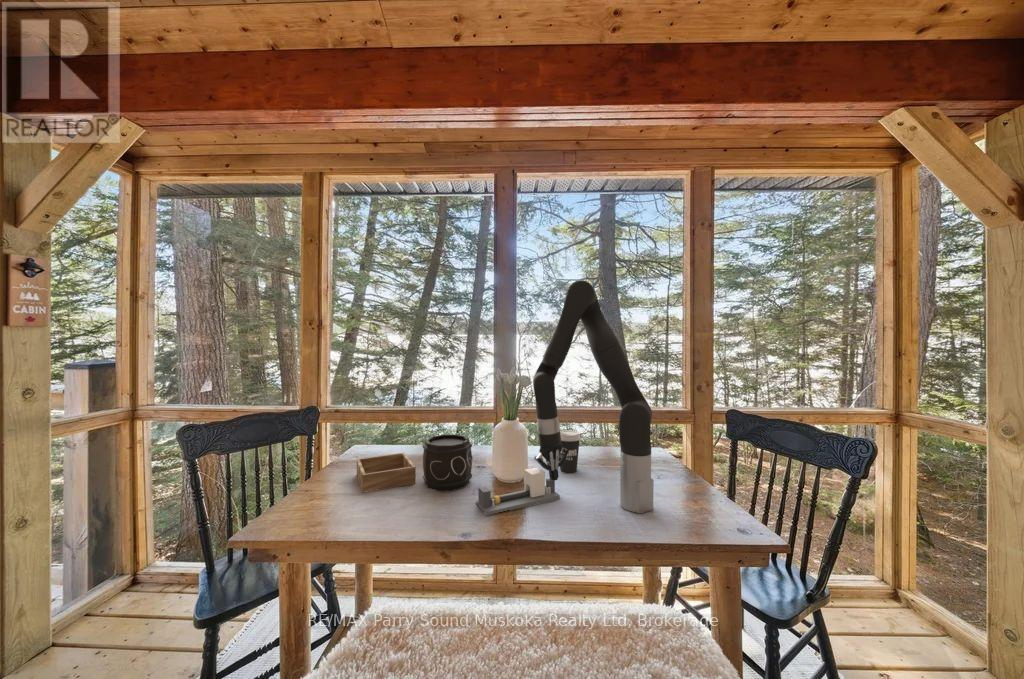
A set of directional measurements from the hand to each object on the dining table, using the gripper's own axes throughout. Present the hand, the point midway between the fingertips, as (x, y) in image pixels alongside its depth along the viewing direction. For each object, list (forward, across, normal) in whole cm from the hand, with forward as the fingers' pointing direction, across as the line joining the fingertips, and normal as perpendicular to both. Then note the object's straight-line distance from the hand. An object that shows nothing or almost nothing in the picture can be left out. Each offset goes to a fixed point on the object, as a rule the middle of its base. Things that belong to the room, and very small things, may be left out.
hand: (554, 479), depth 135 cm
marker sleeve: (+2, -8, 0) cm, 9 cm away
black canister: (+1, -30, +25) cm, 39 cm away
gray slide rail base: (+3, -14, 0) cm, 15 cm away
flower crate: (-2, -50, +39) cm, 63 cm away
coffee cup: (+6, +16, +16) cm, 24 cm away
